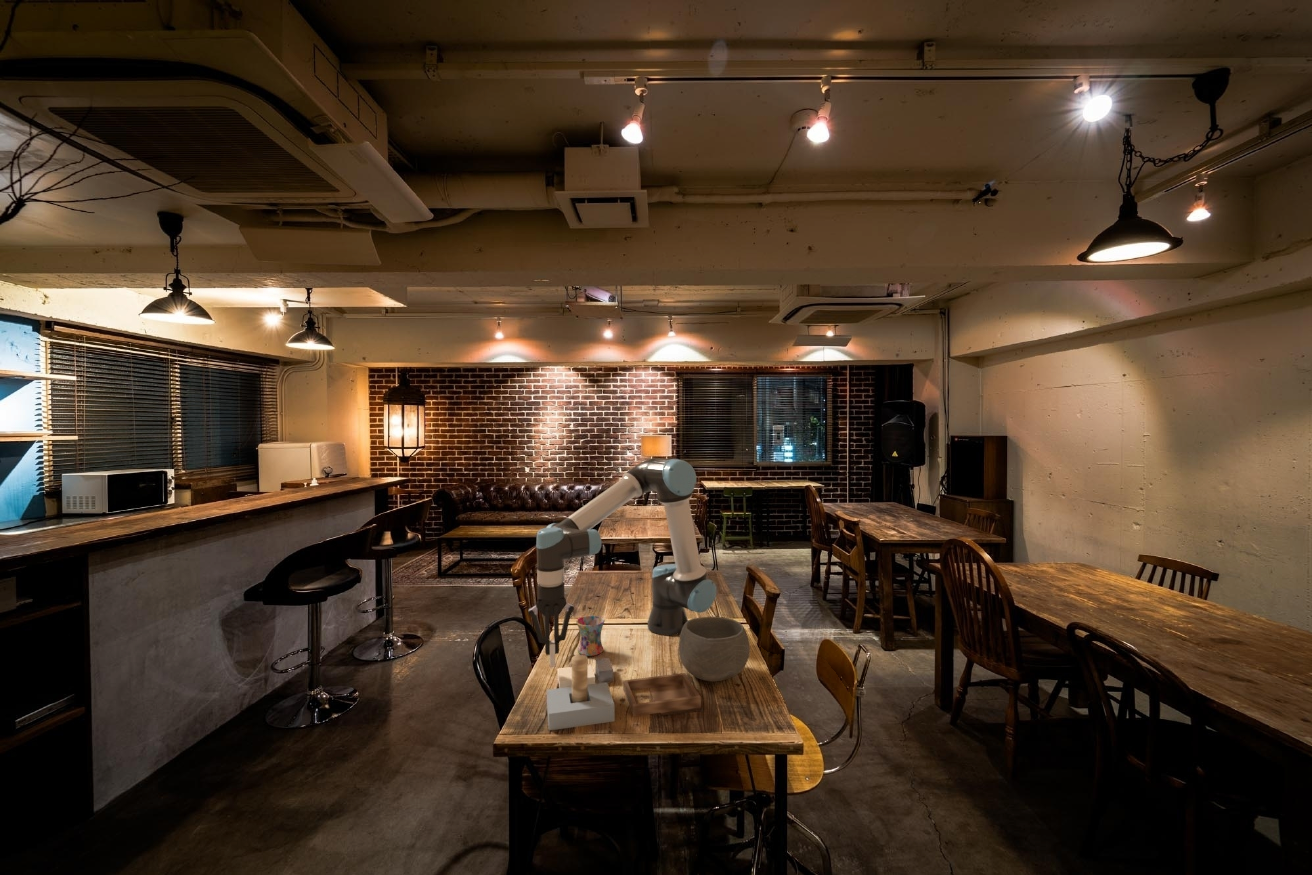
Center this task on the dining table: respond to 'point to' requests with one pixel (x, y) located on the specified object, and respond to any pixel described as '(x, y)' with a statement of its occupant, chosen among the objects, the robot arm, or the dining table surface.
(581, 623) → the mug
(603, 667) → the block
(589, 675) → the cream rectangular block
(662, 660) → the dining table surface
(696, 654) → the bowl
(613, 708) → the dowel block
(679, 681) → the tray
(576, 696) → the dowel
